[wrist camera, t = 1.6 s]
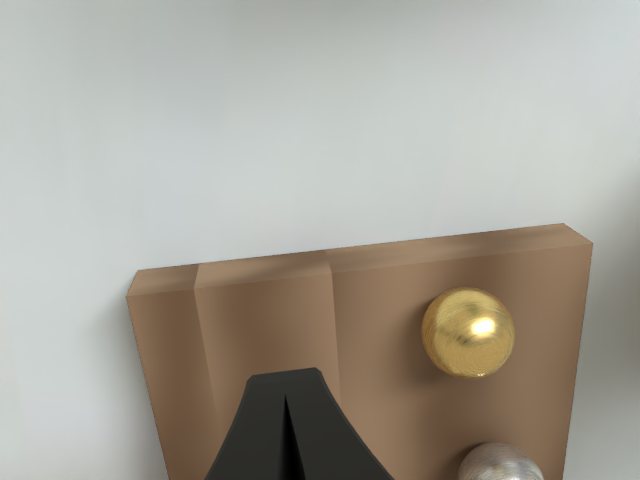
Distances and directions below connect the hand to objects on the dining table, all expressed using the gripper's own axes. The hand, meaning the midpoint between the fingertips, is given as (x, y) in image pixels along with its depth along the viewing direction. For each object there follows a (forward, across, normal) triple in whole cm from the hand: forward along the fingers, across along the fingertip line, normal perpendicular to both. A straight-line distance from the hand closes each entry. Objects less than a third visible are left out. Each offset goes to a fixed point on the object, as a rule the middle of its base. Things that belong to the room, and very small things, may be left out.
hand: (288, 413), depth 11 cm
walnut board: (+10, -3, +10) cm, 14 cm away
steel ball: (+6, -8, +10) cm, 14 cm away
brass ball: (+6, -6, +3) cm, 9 cm away
